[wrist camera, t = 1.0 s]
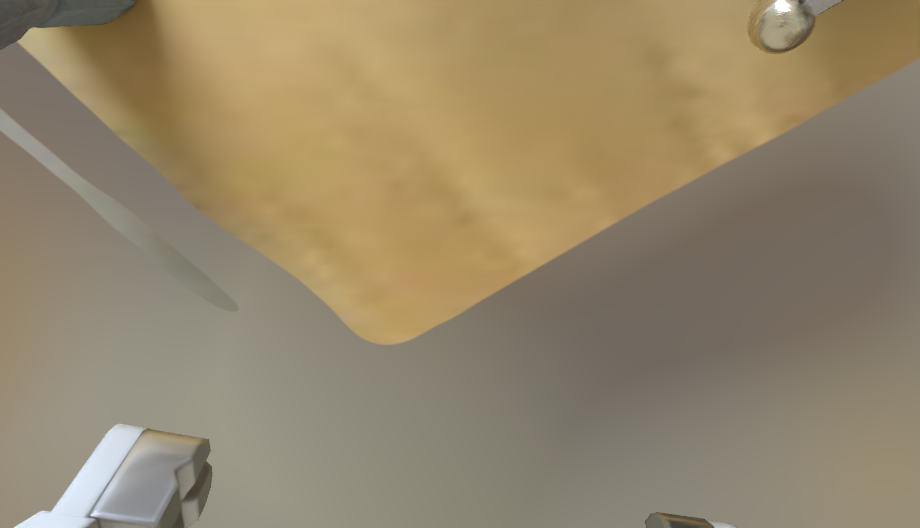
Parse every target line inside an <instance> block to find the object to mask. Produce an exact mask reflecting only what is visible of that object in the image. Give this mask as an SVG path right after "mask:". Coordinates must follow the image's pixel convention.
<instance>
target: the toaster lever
mask: <svg viewBox="0 0 920 528" xmlns="http://www.w3.org/2000/svg"><path fill="white" fill-rule="evenodd" d="M841 1H843V0H760V1H759V2H758V3H757V4H756V5H755V7H754V8H753V10H752V12H751V13H750V16H749V19H748V24H747V31H748V36H749V38H750V41H751V42H752V44H753V45H754V46H755V47H756V48H758V49H759V50H761V51H763V52H765V53H770V54H781V53H785V52H789V51H791V50H793V49H795V48H797V47H798V46H800V45H801V44H802V43H804V42H805V41H806V40H807V38H808V37H809V36H810V35H811V33H812V31H813V29H814V27H815V24H816V20H817V15H818V14H820V13H822V12H824V11H825V10H827V9H829V8H831V7H832V6H834V5H836V4H838V3H839V2H841Z"/></svg>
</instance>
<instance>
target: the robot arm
mask: <svg viewBox="0 0 920 528" xmlns="http://www.w3.org/2000/svg"><path fill="white" fill-rule="evenodd" d="M209 453H210V444H209V439H204V438H198V437H192V436H186V435H181V434H175V433H169V432H164V431H157V430H151V429H149V428H143V427H135V426H130V425H124V424H117V425H116V426H114V427H113V428H112V429H111V430H109V432H107V434H106V435H105V436H104V438H103V439H102V441H101V442H100V443H99V445H98V446H97V448H96V449H95V450H94V452H93V453H92V455H91V456H90V457H89V459H88V461H87V462H86V463H85V465H84V466H83V467H82V469H81V470H80V472H79V473H78V474H77V476H76V478H75V479H74V480H73V482H72V483H71V484H70V486H69V487H68V488H67V490H66V491H65V493H64V494H63V496H62V497H61V498H60V500H59V501H58V503H57V504H56V506H55V507H54V508H53V510H52V511H51V512H49V511H40V512H38V513H37V514H35V515H34V516H32V517H30V518H29V519H27V520H25V521H24V522H22V523H20V524H19V525H17V526H16V527H14V528H189V527H190V526H191V525H193V524H194V523H195V522H197V521H198V520H199V517H200V515H201V513H202V511H203V508H204V506H205V504H206V501H207V498H208V494H209V491H210V488H211V481H212V466H211V465H210V464H208V463H207V462H206V459H207V457H208V455H209ZM645 524H646V528H737V527H736V526H735V525H732V524H729V523H722V522H715V521H709V520H705V519H701V518H693V517H686V516H680V515H672V514H666V513H659V512H656V513H652V514H650V515H649V517H648V518H647V519H646V521H645Z"/></svg>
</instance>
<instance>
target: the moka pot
mask: <svg viewBox="0 0 920 528" xmlns="http://www.w3.org/2000/svg"><path fill="white" fill-rule="evenodd" d="M134 3H135V0H0V50H1V49H3V48H5V47H7V46H8V45H10V44H12V43H14V42H16V41H18V40H19V39H21V38H22V36H23V35H24V34H25V33H26V32H27V31H28V30H29V29H30V28H33V27H37V28H46V27H60V26H79V25H100V24H106V23H108V22H110V21H112V20H114V19H115V18H117V17H119V16H120V15H122V14H123V13H125V12H126V11H127V10H129V9H130V8H132V7H133V5H134Z"/></svg>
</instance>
